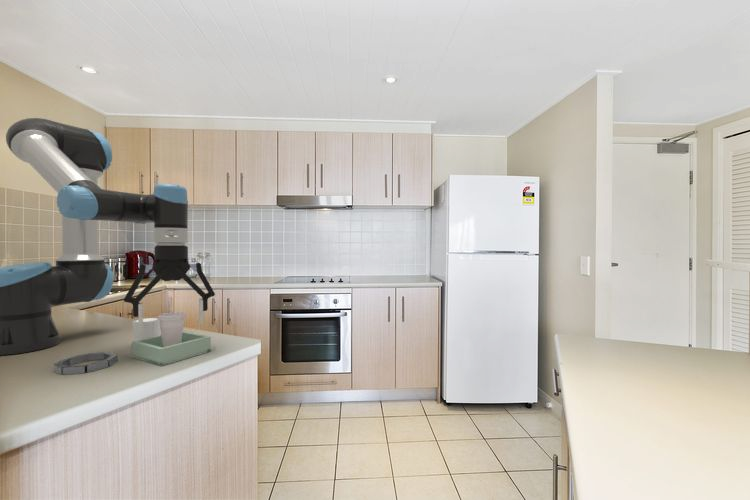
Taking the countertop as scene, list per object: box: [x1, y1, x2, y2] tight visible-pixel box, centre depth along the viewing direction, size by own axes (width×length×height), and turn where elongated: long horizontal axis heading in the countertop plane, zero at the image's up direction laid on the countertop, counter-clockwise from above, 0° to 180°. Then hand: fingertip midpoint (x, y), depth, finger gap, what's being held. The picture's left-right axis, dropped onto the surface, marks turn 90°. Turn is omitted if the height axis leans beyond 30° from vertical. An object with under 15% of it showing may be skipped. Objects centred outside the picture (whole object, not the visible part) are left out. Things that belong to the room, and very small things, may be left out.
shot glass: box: [132, 317, 161, 341], centre depth 101 cm, size 7×7×7 cm
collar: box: [53, 351, 118, 376], centre depth 83 cm, size 11×11×2 cm
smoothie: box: [157, 296, 187, 347], centre depth 91 cm, size 6×6×14 cm
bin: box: [131, 330, 212, 367], centre depth 91 cm, size 13×13×4 cm
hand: (172, 326), depth 91 cm, fingers open, 13 cm apart
